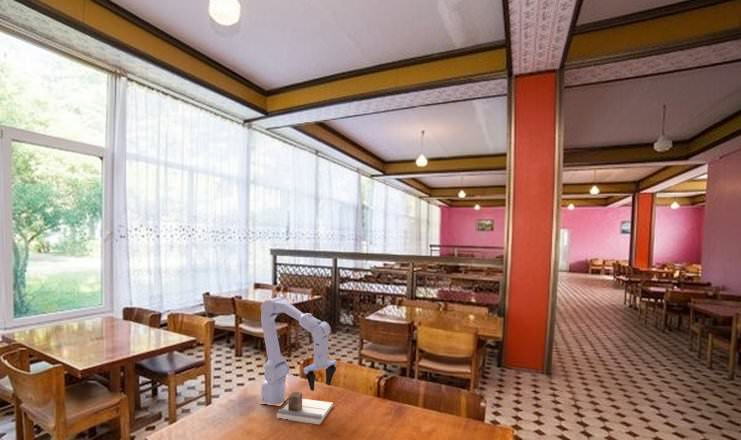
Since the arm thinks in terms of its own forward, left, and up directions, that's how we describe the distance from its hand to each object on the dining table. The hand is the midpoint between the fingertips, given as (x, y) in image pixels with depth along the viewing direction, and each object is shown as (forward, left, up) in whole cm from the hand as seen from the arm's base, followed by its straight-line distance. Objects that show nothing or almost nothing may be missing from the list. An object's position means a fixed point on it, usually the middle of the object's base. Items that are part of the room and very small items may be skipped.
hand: (320, 387), depth 136 cm
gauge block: (-9, -4, -8) cm, 13 cm away
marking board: (-5, -2, -10) cm, 11 cm away
